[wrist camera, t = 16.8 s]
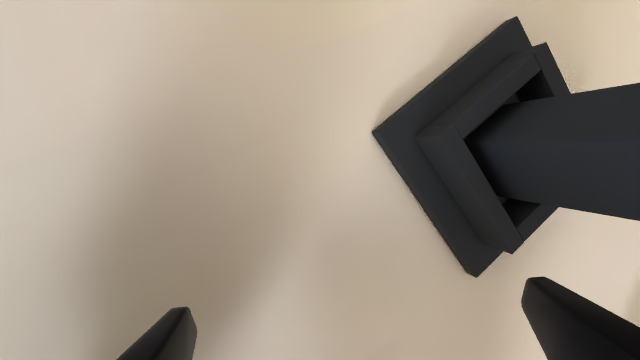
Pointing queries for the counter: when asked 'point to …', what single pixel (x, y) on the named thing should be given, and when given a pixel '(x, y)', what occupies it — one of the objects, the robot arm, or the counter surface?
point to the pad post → (566, 151)
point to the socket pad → (453, 154)
